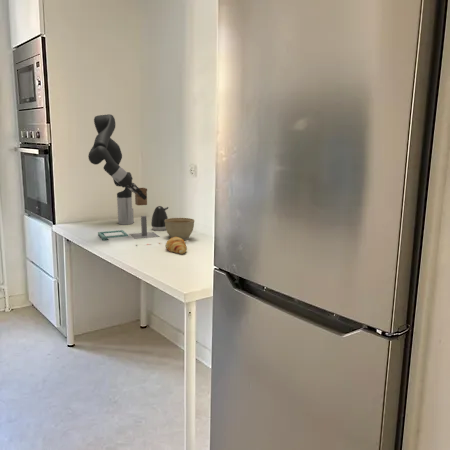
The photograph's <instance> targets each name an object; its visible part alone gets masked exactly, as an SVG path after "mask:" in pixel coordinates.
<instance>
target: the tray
mask: <svg viewBox="0 0 450 450" xmlns="http://www.w3.org/2000/svg"><path fill="white" fill-rule="evenodd" d="M113 233H122V234H118V235H106V234H113ZM97 237H99V239H100V240H101V241H109V240H110V238H121V237H122V238H124V237H129V233H127V232H125V230H123V229H121V230H120V229H119V230H109V231H108V230H107V231H98V232H97Z"/></svg>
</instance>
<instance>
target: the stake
mask: <svg viewBox="0 0 450 450" xmlns="http://www.w3.org/2000/svg"><path fill="white" fill-rule="evenodd" d="M147 223H148V221H147V215H141V216H140V225H141V226H140V227H141V229H140V230H141V232H138V233H135V232H134V233H128V236H129V235H130V236H131V237H132V238H133V239H134V240H138V239H139V240H141V239H149V238H150V239H151V238H161V237H160V236H159V235H158V234H157V233H156V232H155V231H150V232H149V231H148V229H147V228H148V226H147Z"/></svg>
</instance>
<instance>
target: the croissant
mask: <svg viewBox="0 0 450 450" xmlns="http://www.w3.org/2000/svg"><path fill="white" fill-rule="evenodd" d="M184 240H185V239H181V238H179V237H173V238H171V237H170V238H169V239H168V240H167V241H166V243H165V249H167V251H169V252H171V253H174V254H179V255H183V254H185V253H186V252H187V250H188V248H187V244H186V241H184Z"/></svg>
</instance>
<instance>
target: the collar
mask: <svg viewBox="0 0 450 450" xmlns="http://www.w3.org/2000/svg"><path fill="white" fill-rule="evenodd" d="M138 188H139V189H140V190H141V191H142V193H143V194H144V195H145V196H146V197H147V198H146V199H145V200H144V199H143V198H141V197H140V196H139V195H138V194H137V193H134V202H135V205H136V206H147V205H148V193H147V192H148V188H146V187H138ZM139 192H140V191H138V193H139Z"/></svg>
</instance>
